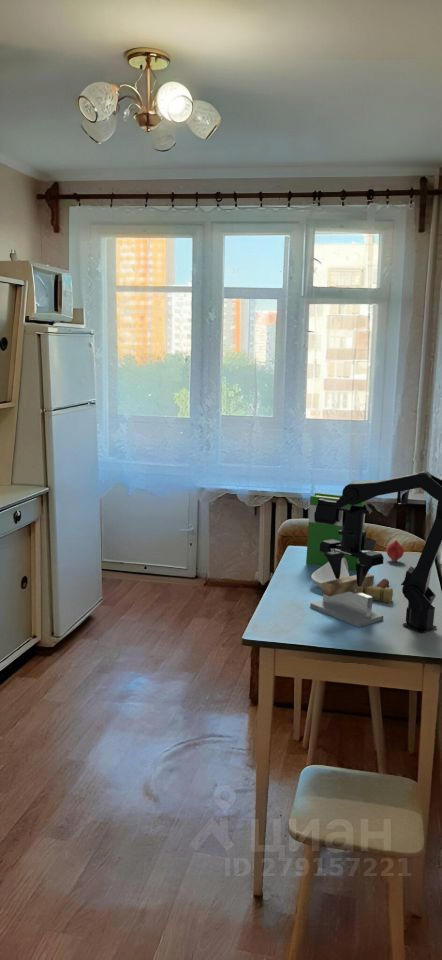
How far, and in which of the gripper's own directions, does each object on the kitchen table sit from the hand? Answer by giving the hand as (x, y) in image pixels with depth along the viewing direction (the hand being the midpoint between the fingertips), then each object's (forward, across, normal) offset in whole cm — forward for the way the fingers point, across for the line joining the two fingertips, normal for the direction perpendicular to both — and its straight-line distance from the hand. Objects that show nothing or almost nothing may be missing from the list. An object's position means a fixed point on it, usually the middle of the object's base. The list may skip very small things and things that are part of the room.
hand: (348, 582), depth 197 cm
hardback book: (+9, +35, -33) cm, 49 cm away
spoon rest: (+10, +21, -18) cm, 29 cm away
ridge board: (+9, 0, 0) cm, 9 cm away
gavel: (+10, +8, -24) cm, 27 cm away
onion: (+9, +27, -56) cm, 63 cm away
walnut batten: (+2, 0, 0) cm, 2 cm away
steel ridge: (+8, 0, 0) cm, 8 cm away
